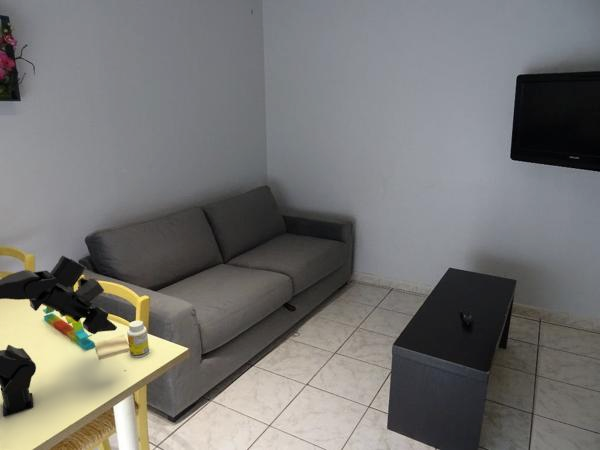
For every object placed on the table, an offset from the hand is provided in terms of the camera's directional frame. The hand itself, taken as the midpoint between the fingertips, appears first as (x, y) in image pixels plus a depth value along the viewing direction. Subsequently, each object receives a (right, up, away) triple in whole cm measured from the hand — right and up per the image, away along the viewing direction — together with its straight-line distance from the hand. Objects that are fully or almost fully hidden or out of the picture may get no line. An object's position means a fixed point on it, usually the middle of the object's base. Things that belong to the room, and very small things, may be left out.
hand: (108, 323), depth 128 cm
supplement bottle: (+6, -11, +9) cm, 16 cm away
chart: (-22, -8, +21) cm, 32 cm away
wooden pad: (-4, -10, +12) cm, 16 cm away
